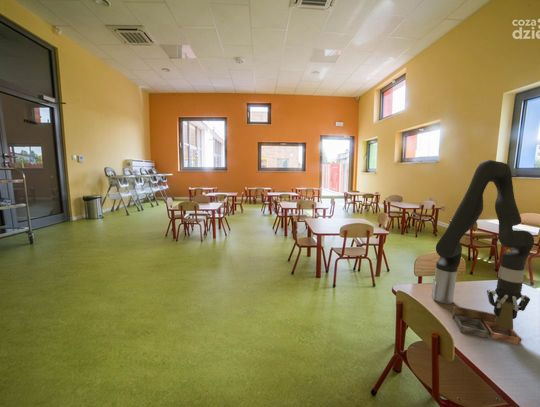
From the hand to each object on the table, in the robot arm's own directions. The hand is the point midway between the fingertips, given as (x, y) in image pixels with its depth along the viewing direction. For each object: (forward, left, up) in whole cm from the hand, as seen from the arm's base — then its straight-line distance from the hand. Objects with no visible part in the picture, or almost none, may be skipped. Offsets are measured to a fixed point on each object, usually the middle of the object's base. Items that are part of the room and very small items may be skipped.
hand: (504, 316), depth 110 cm
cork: (0, 0, -4) cm, 4 cm away
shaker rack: (-6, 0, -8) cm, 10 cm away
